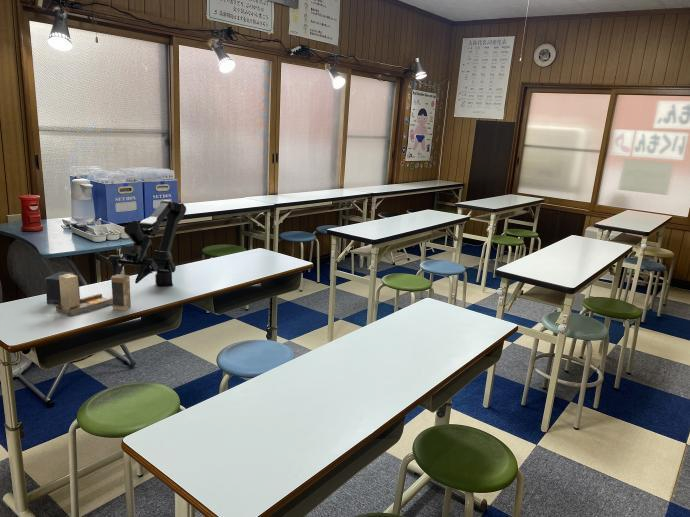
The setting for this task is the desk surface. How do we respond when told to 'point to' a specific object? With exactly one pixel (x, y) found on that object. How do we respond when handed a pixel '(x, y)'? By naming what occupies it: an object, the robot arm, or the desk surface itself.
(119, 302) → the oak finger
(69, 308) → the rail
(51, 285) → the small box
